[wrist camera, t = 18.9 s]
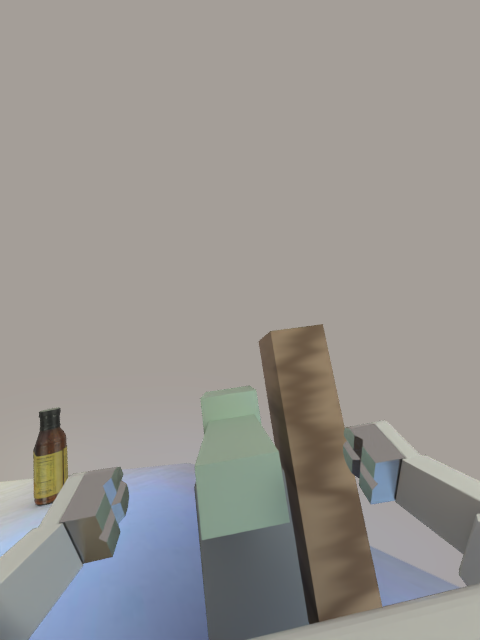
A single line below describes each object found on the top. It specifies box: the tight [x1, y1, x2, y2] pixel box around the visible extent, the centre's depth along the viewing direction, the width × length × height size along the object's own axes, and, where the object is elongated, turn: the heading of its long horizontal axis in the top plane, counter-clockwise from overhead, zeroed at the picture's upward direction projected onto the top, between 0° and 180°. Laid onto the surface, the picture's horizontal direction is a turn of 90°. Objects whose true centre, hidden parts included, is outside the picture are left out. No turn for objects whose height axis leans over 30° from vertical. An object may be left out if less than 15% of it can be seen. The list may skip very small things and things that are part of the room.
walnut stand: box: [259, 324, 382, 624], centre depth 24 cm, size 5×8×26 cm, turn 4°
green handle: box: [195, 386, 290, 540], centre depth 19 cm, size 5×16×5 cm, turn 4°
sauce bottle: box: [33, 408, 68, 505], centre depth 57 cm, size 7×6×20 cm
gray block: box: [194, 466, 309, 640], centre depth 19 cm, size 6×10×16 cm, turn 4°
